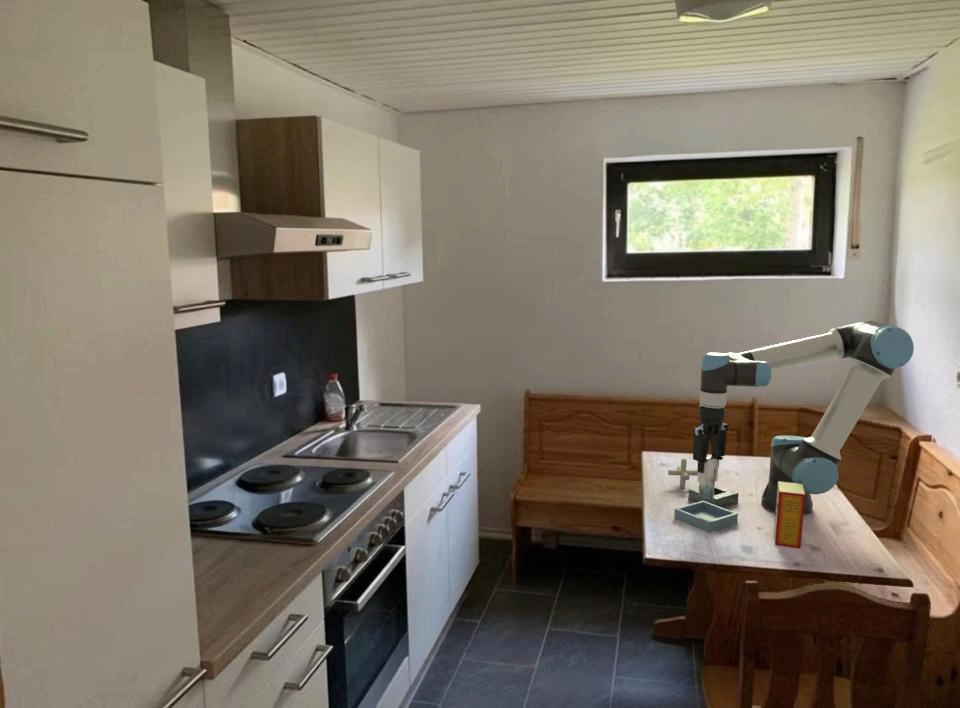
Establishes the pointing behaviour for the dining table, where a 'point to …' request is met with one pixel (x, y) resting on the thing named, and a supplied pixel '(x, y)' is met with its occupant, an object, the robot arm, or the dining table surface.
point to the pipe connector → (683, 472)
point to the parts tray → (706, 516)
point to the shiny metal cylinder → (708, 480)
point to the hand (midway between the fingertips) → (707, 481)
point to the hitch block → (716, 496)
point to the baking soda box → (789, 514)
